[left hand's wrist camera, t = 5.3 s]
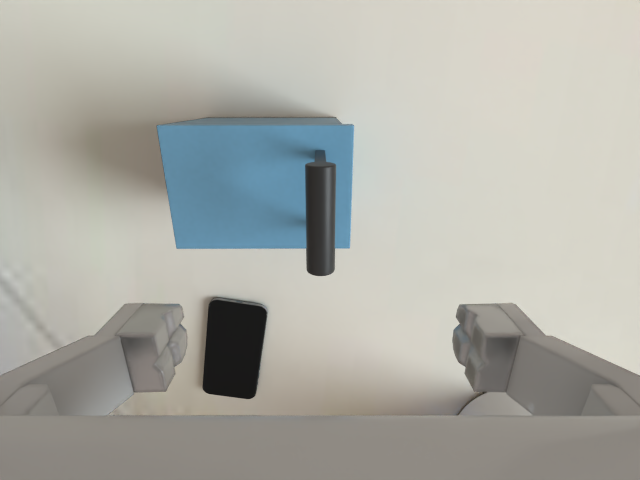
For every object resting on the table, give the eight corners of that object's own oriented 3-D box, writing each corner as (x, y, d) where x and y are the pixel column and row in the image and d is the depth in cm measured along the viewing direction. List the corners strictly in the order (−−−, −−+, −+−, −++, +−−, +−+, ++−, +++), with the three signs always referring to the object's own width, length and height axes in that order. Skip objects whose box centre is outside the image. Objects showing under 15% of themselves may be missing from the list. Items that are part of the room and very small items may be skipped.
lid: (352, 124, 25) (368, 135, 17) (348, 242, 29) (360, 299, 21) (163, 124, 25) (88, 135, 17) (181, 243, 29) (126, 300, 21)
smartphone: (268, 307, 43) (255, 400, 48) (269, 304, 44) (255, 396, 49) (208, 298, 43) (201, 393, 48) (210, 295, 43) (203, 389, 49)
